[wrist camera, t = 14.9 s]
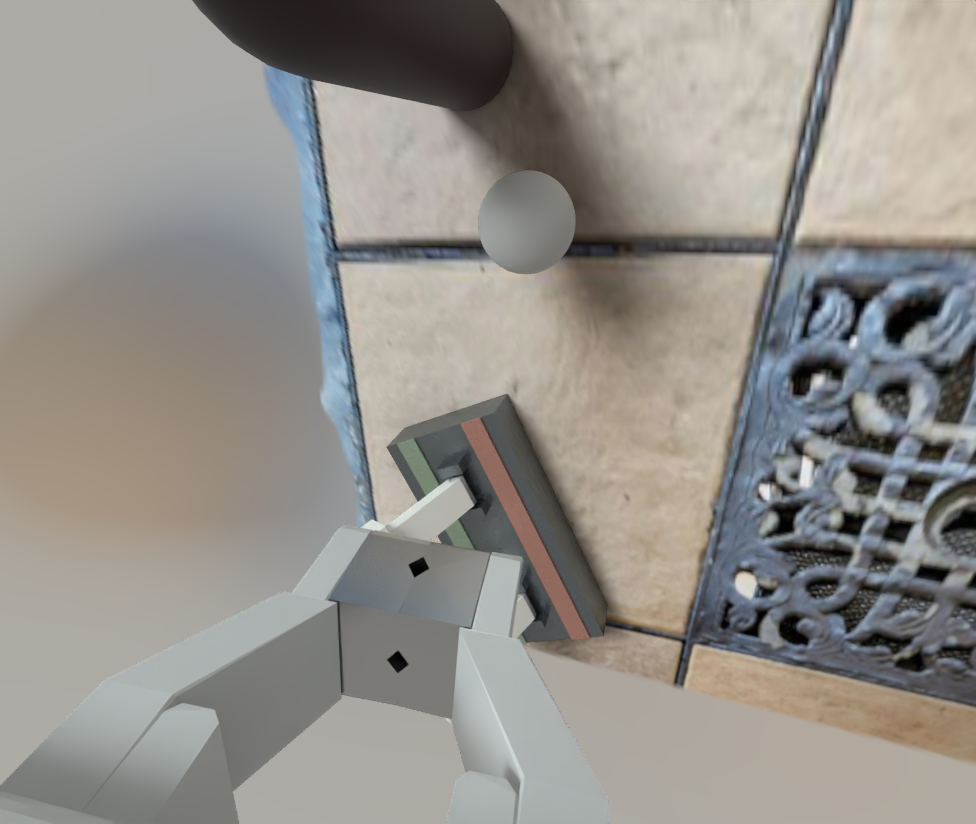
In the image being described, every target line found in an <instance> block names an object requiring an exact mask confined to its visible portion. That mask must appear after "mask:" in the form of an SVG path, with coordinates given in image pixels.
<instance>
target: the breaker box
mask: <svg viewBox="0 0 976 824" xmlns="http://www.w3.org/2000/svg"><path fill="white" fill-rule="evenodd" d="M387 449H388V450H389V452H390V454H391V456H392V457H393V459H394V461H395V463H396V464H397V466H398V468H399V470H400V471H401V473H402V475H403V477H404V478H405V480H406V482H407V484H408V485H409V487H410V489H411V491H412V492H413V494H414V496H415V497H416V499H417V501H418V502H419V501H420V500H421V499H422V498H424V497H425V496H426V495H428V494H429V493H430V492H432V491H433V490H434V489H436V488H437V487H438V486H440V485H441V484H442V483H444V482H445V481H446V480H448V479H449V478H450V477H452V476H456V475H459V474H462V475H463V476H464V478H465V480H466V482H467V484H468V486H469V488H470V490H471V491H472V493H473V495H474V497H475V499H476V504H475V505H474V506H473V507H472V508H471V509H469V510H468V511H467V512H466V513H465V514H463V515H462V516H461V517H460V518H458V519H457V520H456V521H455V522H454V523H452V524H451V525H450V526H449V527H447V528H446V529H445V530H444V531H443V532H441V533H440V534H439V535H438V538H439V539H440V541H441V543H442V544H446V545H452V546H457V547H463V548H469V549H474V550H480V551H486V552H491V553H492V552H496V553H502V554H509V555H515V556H521V557H522V559H523V565H522V572H521V579H520V586H519V593H523V592H525V593H526V595H527V597H528V599H529V601H530V602H531V604H532V606H533V608H534V610H535V612H536V617H535V619H534V620H533V621H532V623H531V624H530V625H529V626H528V627H527V628H526V629H525V630H524V631H523V632H522V633H521V634H520V635H519V636H518V638H517V639H520V640H521V641H522V643H523V644H527V642H538V641H550V640H562V639H571V640H581V639H590V637H598V636H604V630H605V622H606V615H607V607H608V605H607V603H606V601H605V599H604V597H603V595H602V593H601V591H600V589H599V586H598V584H597V582H596V580H595V578H594V576H593V574H592V572H591V570H590V567H589V565H588V563H587V561H586V559H585V557H584V555H583V553H582V551H581V549H580V546H579V544H578V542H577V540H576V538H575V536H574V534H573V532H572V530H571V528H570V525H569V523H568V521H567V519H566V517H565V515H564V513H563V511H562V509H561V507H560V504H559V502H558V500H557V498H556V496H555V494H554V492H553V490H552V488H551V485H550V483H549V481H548V479H547V477H546V475H545V473H544V471H543V469H542V467H541V464H540V462H539V460H538V458H537V456H536V454H535V452H534V450H533V448H532V446H531V443H530V441H529V439H528V437H527V435H526V433H525V431H524V429H523V427H522V424H521V422H520V420H519V418H518V416H517V414H516V412H515V410H514V408H513V406H512V403H511V401H510V399H509V397H508V395H507V394H505V395H502V396H499V397H496V398H493V399H490V400H487V401H484V402H481V403H478V404H475V405H472V406H469V407H466V408H463V409H460V410H457V411H454V412H451V413H448V414H445V415H442V416H439V417H436V418H433V419H430V420H427V421H424V422H421V423H418V424H415V425H412V426H409V427H406V428H404V429H403V430H402V431H401V433H400V434H399V435H398V436H397V437H396V438H395V439H394V440H393V441H392V442H391V443H390V444H389V445H388V446H387Z"/></svg>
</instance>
